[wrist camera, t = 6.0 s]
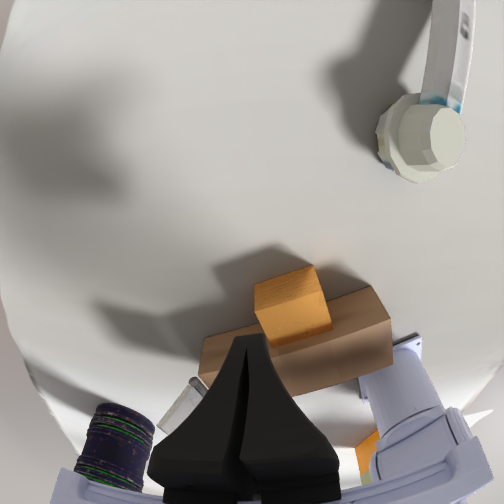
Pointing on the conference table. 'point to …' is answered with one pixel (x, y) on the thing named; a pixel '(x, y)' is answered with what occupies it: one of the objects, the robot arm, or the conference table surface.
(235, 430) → the robot arm
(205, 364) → the block
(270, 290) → the orange block
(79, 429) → the conference table surface
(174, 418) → the plate
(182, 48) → the conference table surface
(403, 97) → the white handled tool
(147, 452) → the storage jar
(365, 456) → the orange juice
